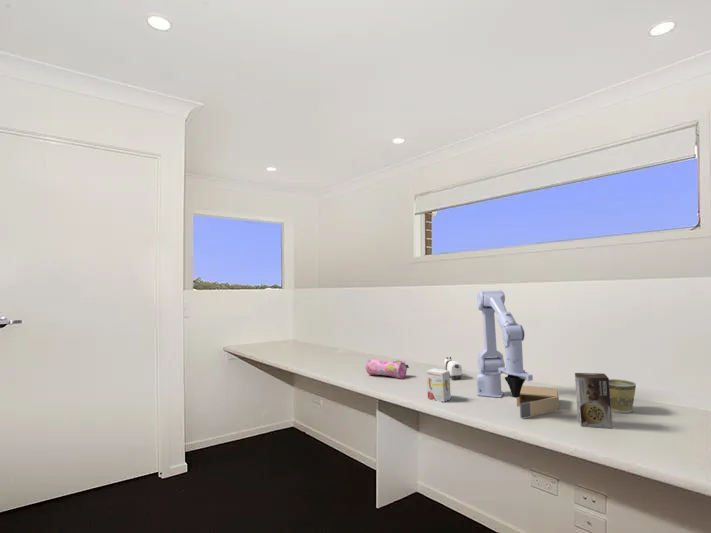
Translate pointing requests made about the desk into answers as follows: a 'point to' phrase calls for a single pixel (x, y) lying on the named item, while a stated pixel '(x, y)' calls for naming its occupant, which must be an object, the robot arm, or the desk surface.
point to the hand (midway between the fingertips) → (515, 396)
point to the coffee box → (593, 400)
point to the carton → (535, 394)
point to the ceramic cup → (621, 395)
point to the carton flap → (539, 407)
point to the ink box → (438, 384)
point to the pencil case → (386, 368)
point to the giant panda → (453, 368)
